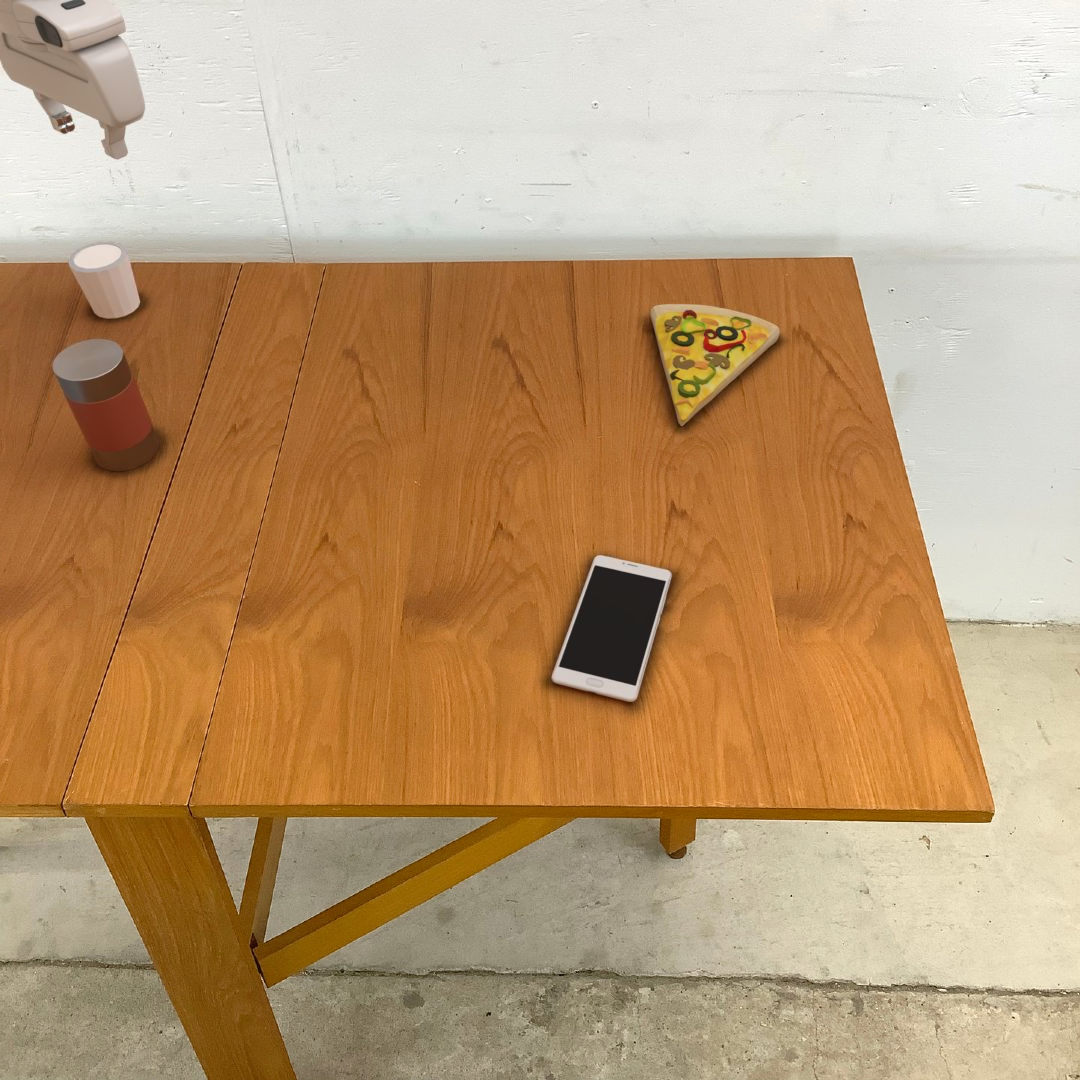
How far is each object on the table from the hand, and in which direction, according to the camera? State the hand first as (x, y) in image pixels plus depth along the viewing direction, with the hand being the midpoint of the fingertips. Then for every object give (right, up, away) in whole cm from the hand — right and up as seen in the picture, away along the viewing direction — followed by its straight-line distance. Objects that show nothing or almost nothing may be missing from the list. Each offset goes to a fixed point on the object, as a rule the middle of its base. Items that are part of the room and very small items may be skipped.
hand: (91, 143), depth 105 cm
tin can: (+4, -33, 0) cm, 33 cm away
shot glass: (-5, -13, +18) cm, 23 cm away
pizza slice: (+66, -23, +8) cm, 71 cm away
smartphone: (+54, -50, -17) cm, 76 cm away
